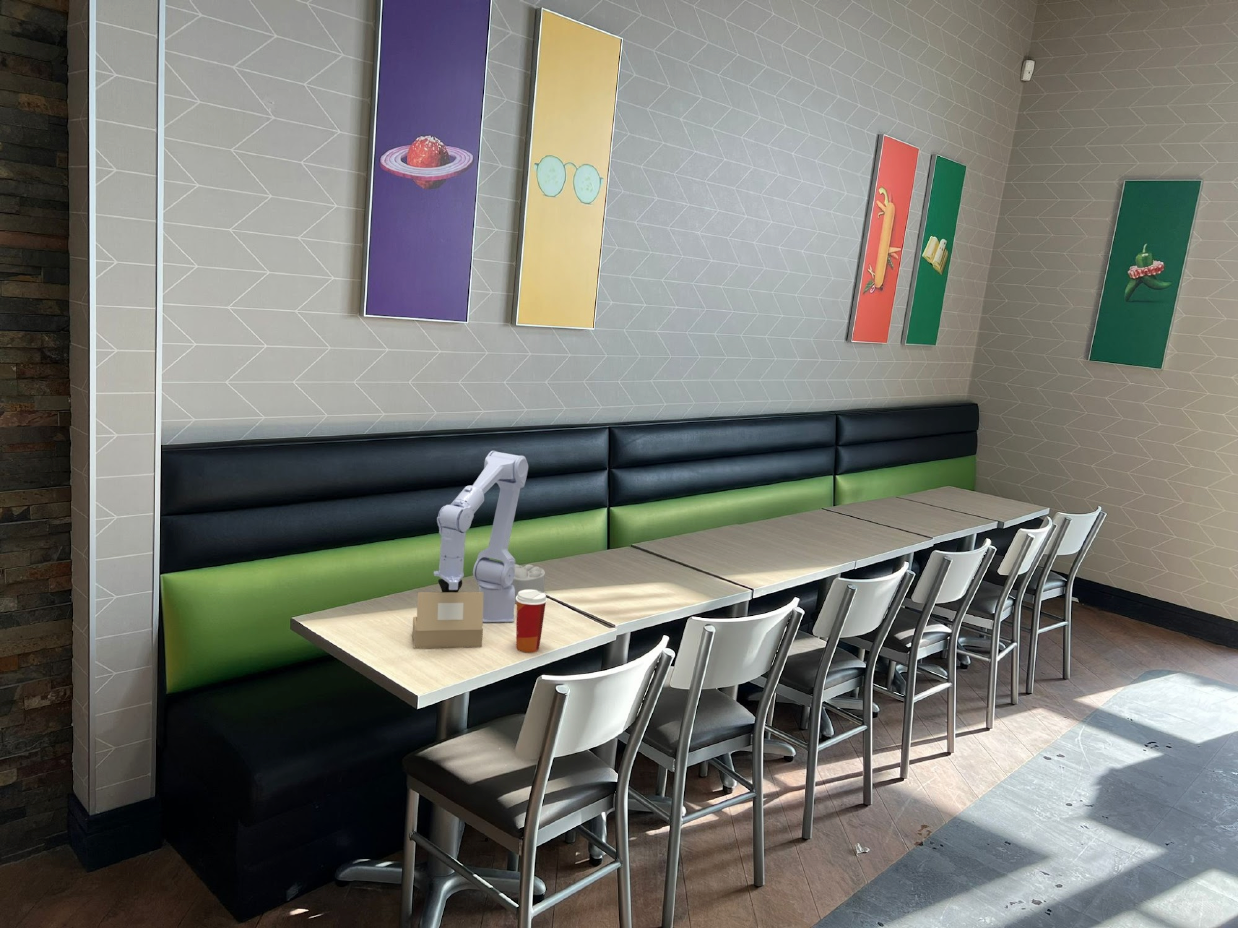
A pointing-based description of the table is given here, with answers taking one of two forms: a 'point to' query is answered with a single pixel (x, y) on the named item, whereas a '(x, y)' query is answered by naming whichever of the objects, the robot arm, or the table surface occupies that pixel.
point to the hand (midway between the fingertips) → (448, 608)
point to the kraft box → (446, 638)
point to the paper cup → (529, 619)
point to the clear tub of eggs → (528, 579)
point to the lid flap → (449, 611)
